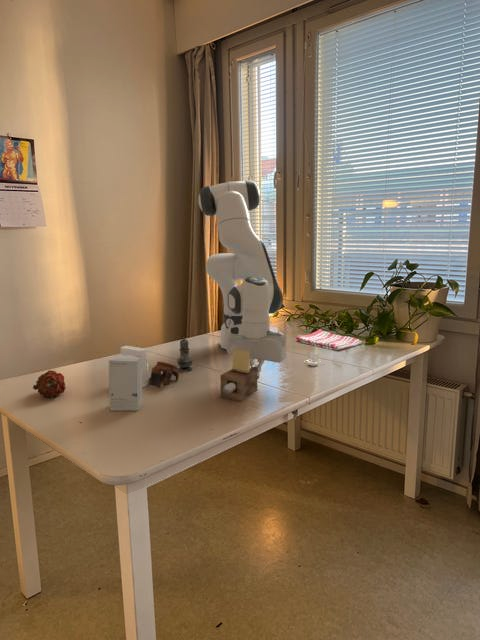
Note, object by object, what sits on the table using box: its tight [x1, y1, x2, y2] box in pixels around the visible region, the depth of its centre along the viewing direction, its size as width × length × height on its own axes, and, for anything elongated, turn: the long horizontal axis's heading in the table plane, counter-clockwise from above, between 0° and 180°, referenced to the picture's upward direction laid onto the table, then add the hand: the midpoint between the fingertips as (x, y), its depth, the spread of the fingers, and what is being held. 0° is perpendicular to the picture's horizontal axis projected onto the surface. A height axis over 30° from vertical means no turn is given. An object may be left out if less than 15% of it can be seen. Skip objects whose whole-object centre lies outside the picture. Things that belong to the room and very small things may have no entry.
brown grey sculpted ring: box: [148, 361, 180, 388], centre depth 154 cm, size 12×10×8 cm
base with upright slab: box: [120, 345, 150, 388], centre depth 153 cm, size 9×9×12 cm
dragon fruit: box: [32, 370, 67, 399], centre depth 144 cm, size 8×8×12 cm
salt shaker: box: [176, 336, 194, 373], centre depth 168 cm, size 6×6×12 cm
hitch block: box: [220, 367, 258, 402], centre depth 144 cm, size 10×7×7 cm
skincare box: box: [108, 354, 143, 412], centre depth 134 cm, size 8×6×15 cm
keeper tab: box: [231, 349, 251, 374], centre depth 143 cm, size 7×6×1 cm
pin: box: [223, 368, 260, 394], centre depth 144 cm, size 16×4×4 cm, turn 149°
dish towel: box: [295, 328, 363, 351], centre depth 204 cm, size 17×23×4 cm
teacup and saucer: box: [305, 351, 320, 367], centre depth 175 cm, size 9×8×4 cm
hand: (255, 371), depth 151 cm, fingers closed, pressing on pin
